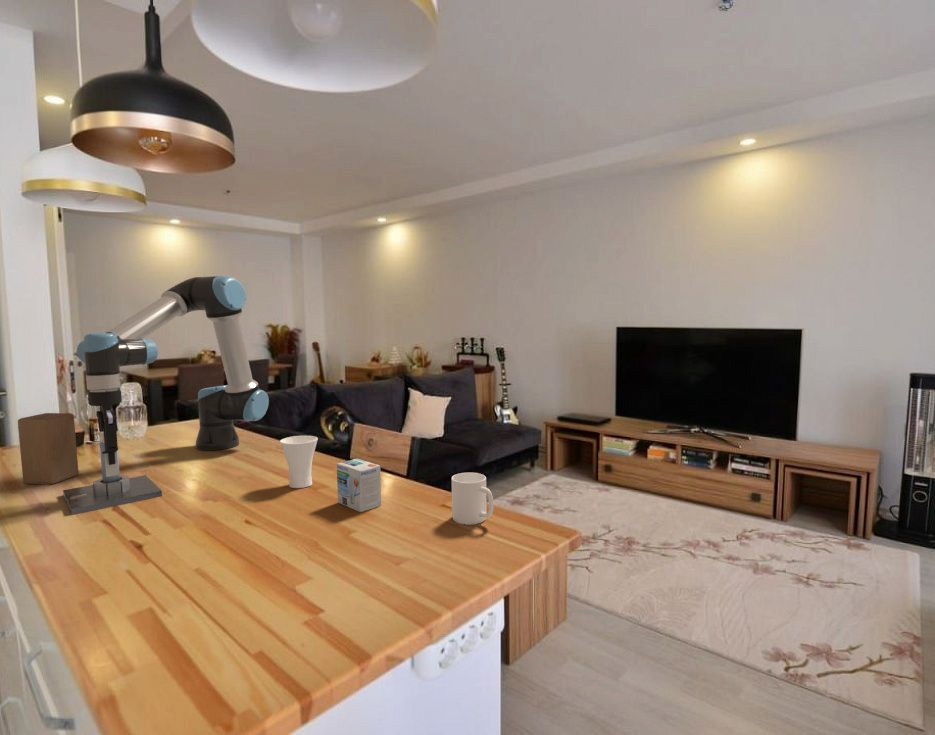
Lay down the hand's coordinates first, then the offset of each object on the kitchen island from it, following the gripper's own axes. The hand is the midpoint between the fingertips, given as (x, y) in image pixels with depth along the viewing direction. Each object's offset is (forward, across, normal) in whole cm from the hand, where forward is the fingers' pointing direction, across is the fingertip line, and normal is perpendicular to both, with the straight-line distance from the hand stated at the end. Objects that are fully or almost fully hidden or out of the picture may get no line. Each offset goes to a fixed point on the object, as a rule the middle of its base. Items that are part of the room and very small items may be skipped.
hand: (110, 473), depth 144 cm
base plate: (+6, 0, 0) cm, 6 cm away
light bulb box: (+7, -54, -46) cm, 71 cm away
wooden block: (+7, +31, +11) cm, 34 cm away
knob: (+3, 0, 0) cm, 3 cm away
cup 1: (+7, -28, -42) cm, 51 cm away
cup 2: (+7, -83, -60) cm, 103 cm away
